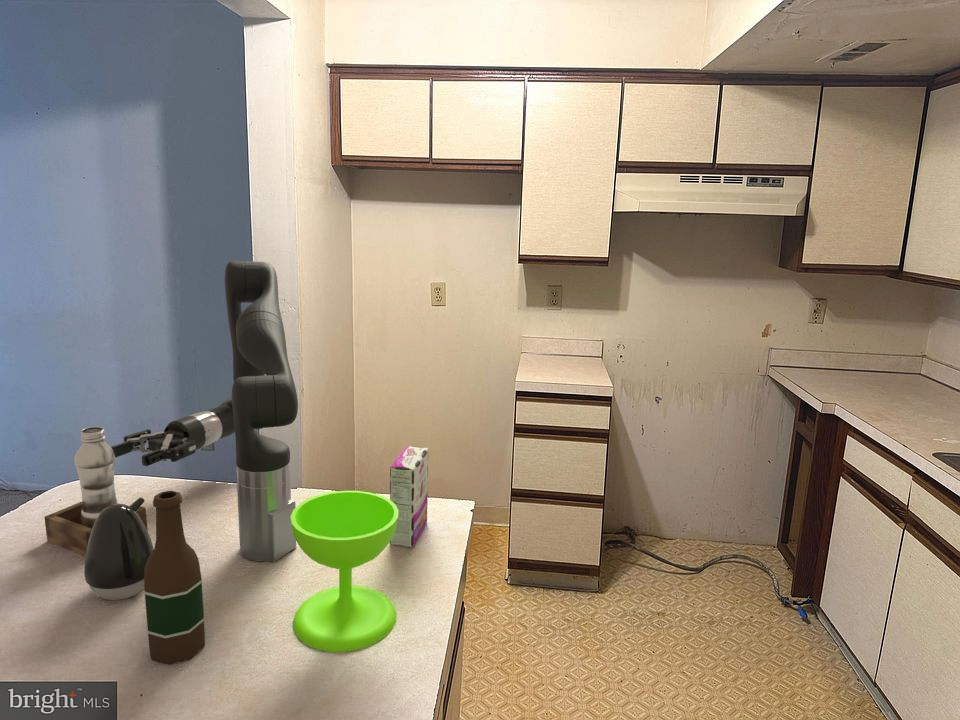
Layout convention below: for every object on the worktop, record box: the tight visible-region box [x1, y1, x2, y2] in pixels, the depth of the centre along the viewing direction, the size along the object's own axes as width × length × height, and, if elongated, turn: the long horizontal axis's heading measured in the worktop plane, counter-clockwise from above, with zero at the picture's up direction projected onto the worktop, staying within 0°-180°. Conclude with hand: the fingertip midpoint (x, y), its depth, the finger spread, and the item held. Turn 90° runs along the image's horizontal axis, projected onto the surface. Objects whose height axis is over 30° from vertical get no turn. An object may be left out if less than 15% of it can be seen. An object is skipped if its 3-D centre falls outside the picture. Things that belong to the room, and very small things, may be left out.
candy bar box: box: [389, 445, 429, 548], centre depth 127 cm, size 11×5×16 cm, turn 170°
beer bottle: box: [143, 490, 206, 666], centre depth 91 cm, size 8×8×24 cm
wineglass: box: [290, 490, 399, 653], centre depth 100 cm, size 16×16×18 cm
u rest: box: [43, 501, 149, 556], centre depth 121 cm, size 12×11×5 cm
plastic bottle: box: [73, 426, 119, 528], centre depth 120 cm, size 6×7×20 cm
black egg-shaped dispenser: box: [83, 496, 155, 601], centre depth 104 cm, size 10×10×15 cm
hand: (127, 456), depth 125 cm, fingers open, 8 cm apart
